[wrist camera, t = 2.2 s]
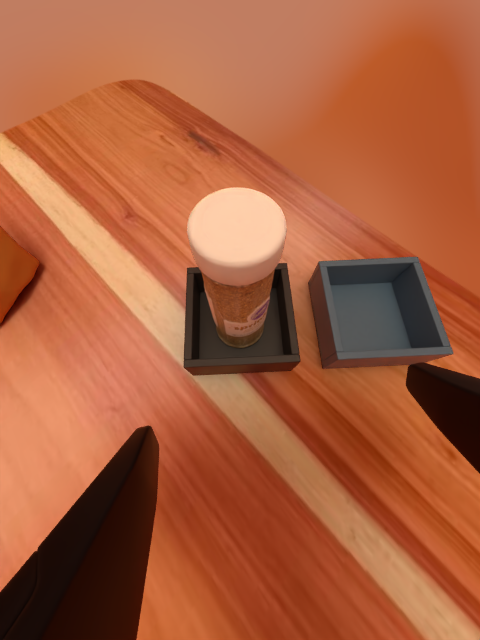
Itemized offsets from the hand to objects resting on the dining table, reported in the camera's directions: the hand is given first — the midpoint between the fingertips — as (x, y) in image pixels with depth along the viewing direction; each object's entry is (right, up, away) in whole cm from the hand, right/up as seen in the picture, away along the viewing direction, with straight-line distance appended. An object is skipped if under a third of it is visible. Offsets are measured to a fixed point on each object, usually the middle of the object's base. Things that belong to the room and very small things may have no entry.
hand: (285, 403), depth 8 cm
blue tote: (+10, +3, +15) cm, 19 cm away
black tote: (-2, +2, +15) cm, 15 cm away
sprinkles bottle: (-2, +2, +15) cm, 15 cm away
